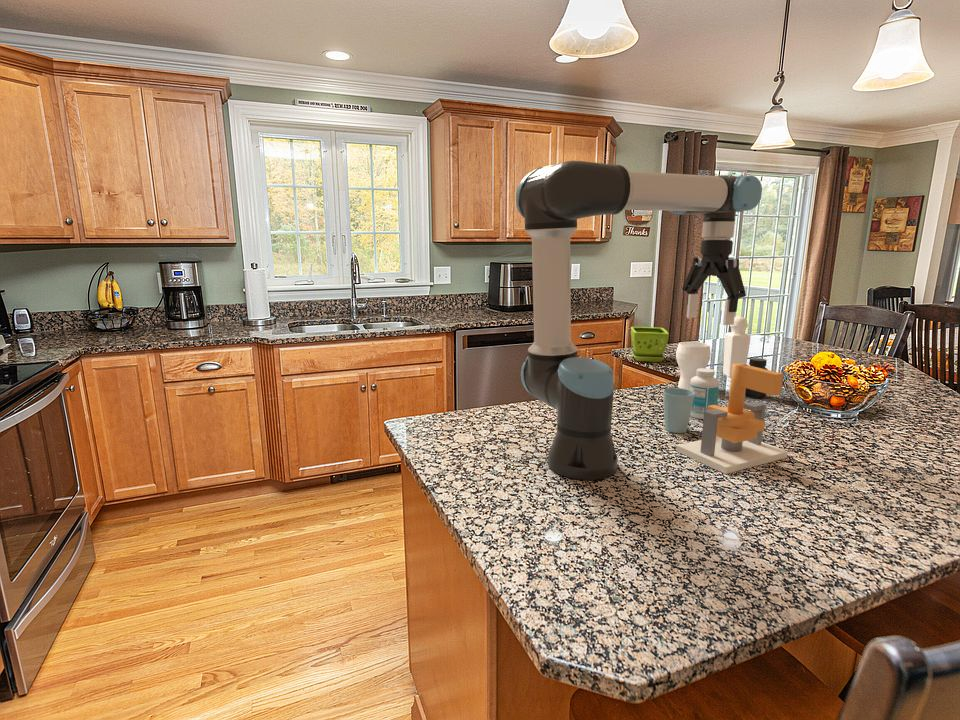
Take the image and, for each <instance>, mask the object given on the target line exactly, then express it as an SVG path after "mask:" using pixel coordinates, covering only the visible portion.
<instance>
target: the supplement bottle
mask: <svg viewBox="0 0 960 720" xmlns="http://www.w3.org/2000/svg"><path fill="white" fill-rule="evenodd" d="M748 365H749V366H753V367H757V368H762V369H766V370H769V369H768V368H767V367H766V366H767V359H766V358H761V357H760V358H758V357H750V358H749V362H748ZM767 395H768V394H766V393H762V392H758V391H755V390H751V389H748V388H746V391H745V397H747V398H751V399H764V398H766V397H767Z"/></svg>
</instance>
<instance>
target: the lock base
mask: <svg viewBox="0 0 960 720" xmlns="http://www.w3.org/2000/svg"><path fill="white" fill-rule="evenodd" d="M766 407H767V404H766V403H762V402H759V401H750V402H744V409H746V410H749V411H751V412H753V413H754V414H755V417H754V418H756V419H759V420H762V421H765V416H766ZM727 414H728V412H726V411H723V410H720V409H713V410H708V411H704V419H702V429H701V430H702V431H701V439H698V440H694V441H690V442H685V443H681V444H677V445H676V450H675V451H676V452H677V453H679V454H682V455H684V456H686V457H688V458H690V459H692V460H694V459H695V460H694V461H696V462H698V463H701V464H703V465H705V466H707V467H709V468H712V469H714V470H715V471H719V472H720V471H721V473H722V472H723V473H722V474H724V473H725V474H724V475H728V474H731V473H734V472H738V471H742V470H746V469H749V468H754V467H757V466H761V465H765V464H768V463H771V462H772V463H773V462H776V461H780V460H782V459H787V458H788V453H789V452H788V451H787V450H784V449H782V448H779V447H777V446H774V445H771V444H769V443H766V442H763V441H762V440H763V432H764V430H763V431H758V432H757V438H756V439H751V440H747V441H743V442H739V443H733V442H730V441H728V440H725V439H723V438H720V437H718V436H716V433H717V423H718V418H722V417H727ZM727 473H728V474H727Z"/></svg>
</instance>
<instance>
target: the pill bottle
mask: <svg viewBox="0 0 960 720" xmlns="http://www.w3.org/2000/svg"><path fill="white" fill-rule="evenodd" d="M696 374H697V376H695V377H693V378H692V379H691V382H690V391H693V392H694V393H695V394H694V399H693V404H692V409H691V413H690V417H692V418H694V419H699V420H703V419H704V411H707V408H708V406H710V405H717V406H718V398H719V389H720V381H719V380H718V379H717V378H716V377H714V376H715V374H716V372H715V370H714V369H712V368H707V367H706V368H699V369H697V371H696Z"/></svg>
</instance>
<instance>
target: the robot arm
mask: <svg viewBox="0 0 960 720" xmlns="http://www.w3.org/2000/svg"><path fill="white" fill-rule="evenodd" d="M762 194H763V187H762V183H761V181H760V179H759V178H758V177H756V176H754V175H749V174H748V175H744V174H741V175H739V176H738V175H737V176H736V175H733V174H732V175H731V174H727V175H726V174H725V175H724V174H723V175H707V174H706V175H705V174H703V175H701V174H684V173H668V172H667V173H666V172H650V171H634V170H633V171H632V170H628V169H627V168H626V167H625V166H624V165H622V164H610V163H601V162H596V161H595V162H592V161H584V160H567V161H562V162H559V163H554V164H550V165H544V166H541V167H538V168H535V169H534V170H533V171H530V172H529V173H527V174H525V176H524V177H523V178H522V179H521V181H520V182H519V184H518V186H517V189H516V192H515V205H516V208H517V212H518V213H519V214H520V215H521V216H522V218H523V219H524V232H525V233H526V234H527V235H528V236H529V238H531V239H530V240H531V256H532V257H531V259H532V261H531V262H532V297H533V299H532V300H533V301H532V304H533V343H532V344H531V345H530V346H529V347H528V348H527V357H526V359H525V361H524V362H523V363H522V366H521V370H520V379H521V380H520V381H521V383H522V385H523V387H524V389H525V390H526V392H528V393H529V394H530V395H531V396H532V397H533V398H535V400H537V401H539V402H541V403H544V404H546V405H547V406H549V407H551V408H553V409H555V410H556V411H557V412H556V413H557V416H556V419H557V420H556V433H555V436H554V438H553V441H552V444H551V447H550V450H549V451H548V455H547V465H548V468H549V469H550V470H551V471H553V472H554V473H556V474H558V475H560V476H563V477H566V478H569V479H574V480H583V481H594V480H602V479H607V478H609V477H611V476H613V475H615V474H616V473H617V472H618V471H617V470H618V456H617V452H616V449H615V445H614V442H613V438H612V420H613V418H612V416H613V404H614V401H613V400H614V389H615V382H614V381H615V379H614V378H615V377H614V372H613V371H614V370H612V368H611V367H610V366H609V365H608V364H606V363H605V362H603V361H601V360H598V359H595V358H594V359H593V358H592V359H591V358H589V357H581V356H580V357H578V347H577V345H575V344H574V343H573V342H572V331H571V330H572V328H571V327H572V326H571V325H572V324H571V323H572V322H571V320H572V319H571V316H572V314H571V313H572V312H571V311H572V310H571V307H572V305H571V303H572V302H571V300H572V299H571V290H572V289H571V237H572V235H574V233H575V232H576V231H577V230H578V219H585V218H589V217H596V216H604V215H605V216H607V215H612V216H613V215H619V214H620V213H623V211H625V210H626V211H627V210H628V211H668V212H669V213H670V214H675V215H680V216H681V215H682V216H683V215H693V216H694V215H702V216H703V220H702V229H701V238H703V240H701V243H700V254H701V255H702V257H693V259H692V262H691V263H692V265H691V267H690V270H689V271H688V274H687V276H686V278H685V281H684V283H683V285H682V288H681V289H682V291H683V292H686V294H687V298H686V306H687V308H686V318H687V319H693V318H695V319H696V318H697V315H698V314H697V313H698V305H699V292H698V291H699V289H700V288H701V287H702V285H703V284H704V283H705V282H706V280H708V277H710V276H712V277H717V278H718V279H719V281H720V284H721V285H722V287H723V289H724V291H725V294H726V295H727V297H726V299H725V301H724V302H725V304H724V311H723V320H722V322H723V323H722V325H723V326H730V325H734V318H735V317H736V316H735V315H736V312H737V310H738V303H739V299H741V298H745V297H746V295H747V293H746V289H745V285H744V282H743V279H742V274H741V271H740V260H739V259H738V258H729V257H730V255H732V252H733V247H734V245H733V244H734V241H733V240H731V238H732V239H733V238H734V236H735V235H734V233H735V225H736V215H737V214H736V213H741V212H746V211H747V212H748V211H751V210H753V209H755V208H756V207H757V206H758V205H759V203H760V201H761V199H762V196H763V195H762Z"/></svg>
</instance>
